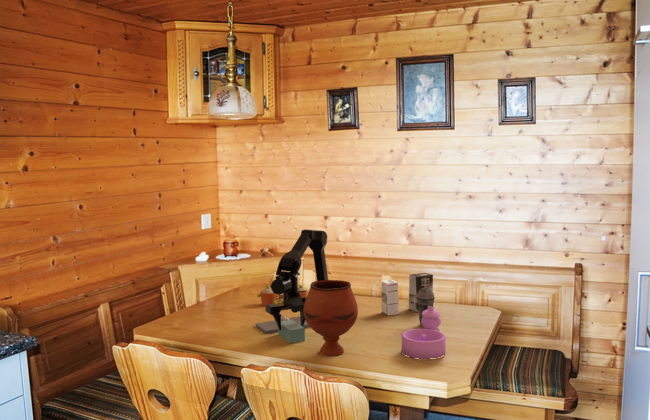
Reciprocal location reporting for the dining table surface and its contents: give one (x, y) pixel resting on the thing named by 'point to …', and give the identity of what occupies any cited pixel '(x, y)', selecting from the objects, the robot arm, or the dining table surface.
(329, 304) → the goblet
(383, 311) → the syrup box
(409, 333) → the container set
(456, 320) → the dining table surface
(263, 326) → the plate
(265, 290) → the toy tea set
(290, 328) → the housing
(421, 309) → the beverage cup
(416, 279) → the coffee box
